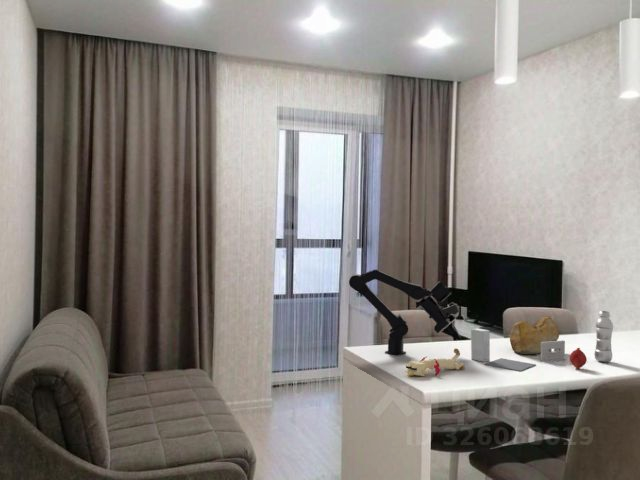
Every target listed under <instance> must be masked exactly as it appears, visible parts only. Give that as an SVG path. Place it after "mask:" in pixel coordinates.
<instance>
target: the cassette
mask: <svg viewBox="0 0 640 480" xmlns="http://www.w3.org/2000/svg"><path fill="white" fill-rule="evenodd" d="M552 350H553V351H552ZM565 350H566V341H565V340H564V339H563V340H557V341H549V342H541V352H540V362H543V363H544V362H545V363H546V362H556V361H564V360H565Z"/></svg>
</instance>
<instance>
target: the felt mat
mask: <svg viewBox="0 0 640 480" xmlns="http://www.w3.org/2000/svg"><path fill="white" fill-rule="evenodd" d="M484 365H485V366H491V367H495V368H499V369H500V368H501V369H506V370H511V371H515V372H522V371H523V372H524V371H525V370H528V369H530V367H531V368H533V367H535V366H537V364H536V363H530V362H524V361H519V360H512V359H507V358H504V357H503V358H498V359H495V360H490V361H487V362H484Z"/></svg>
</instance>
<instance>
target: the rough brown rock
mask: <svg viewBox="0 0 640 480" xmlns="http://www.w3.org/2000/svg"><path fill="white" fill-rule="evenodd" d="M559 338H560V334H559V329H558V325H557V323H556V322H555V321H553V319H552V317H551V316H544V317H541V318H539V319H538V320H537V321H535V323H534V324H531V323H529V322H528V321H518V322H515V323H514V324H513V327H512V329H511V332H510V334H509V342H510V347H511V349H512V351H513V352H514V353H516V352H517V354H521V355H537V354H541V342H549V341H559Z"/></svg>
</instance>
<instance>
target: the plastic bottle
mask: <svg viewBox="0 0 640 480" xmlns="http://www.w3.org/2000/svg"><path fill="white" fill-rule="evenodd" d="M598 315H599V318H598V319H597V320H596V322H595V332H596V334H595V335H596V343H595V350H594V353H593V354H594V359H595V360H596V361H599V362H601V363H610V362H611V361H612V360H613V351H612V336H613V332H614V330H613V329H614V325H613V322H612V320H611V318H610V316H611V314H610V311H607V310H600V311H599V314H598Z"/></svg>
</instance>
